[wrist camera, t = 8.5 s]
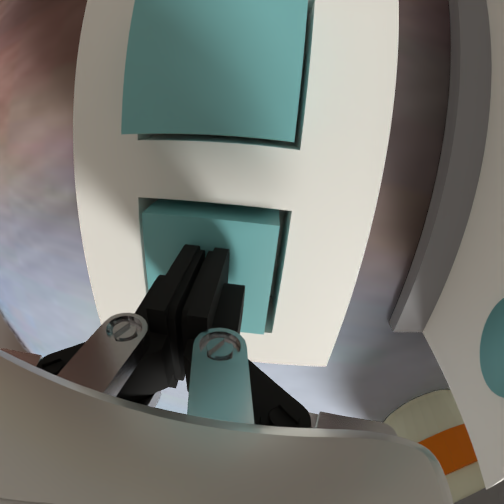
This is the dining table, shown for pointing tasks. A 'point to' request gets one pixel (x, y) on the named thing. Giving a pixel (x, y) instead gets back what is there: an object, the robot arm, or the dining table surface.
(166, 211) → the button
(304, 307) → the button board
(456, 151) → the pattern sign
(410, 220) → the dining table surface
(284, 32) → the button
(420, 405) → the reusable coffee cup
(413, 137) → the dining table surface
